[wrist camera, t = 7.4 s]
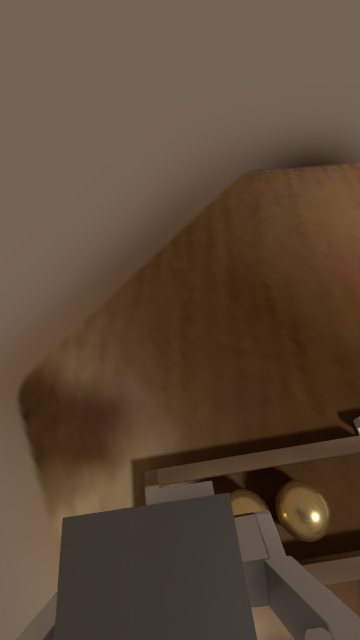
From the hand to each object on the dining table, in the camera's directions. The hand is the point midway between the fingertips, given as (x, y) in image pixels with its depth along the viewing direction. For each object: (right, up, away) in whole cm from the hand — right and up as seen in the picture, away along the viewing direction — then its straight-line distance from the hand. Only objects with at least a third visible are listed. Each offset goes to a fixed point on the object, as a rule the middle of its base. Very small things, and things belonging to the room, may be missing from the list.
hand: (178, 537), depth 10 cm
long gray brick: (+1, -3, +4) cm, 6 cm away
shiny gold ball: (+10, -8, +14) cm, 19 cm away
